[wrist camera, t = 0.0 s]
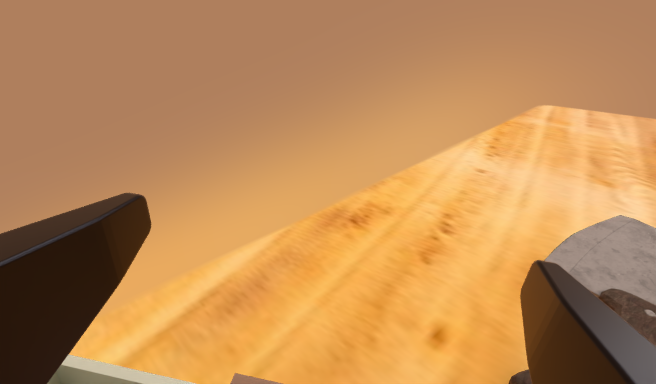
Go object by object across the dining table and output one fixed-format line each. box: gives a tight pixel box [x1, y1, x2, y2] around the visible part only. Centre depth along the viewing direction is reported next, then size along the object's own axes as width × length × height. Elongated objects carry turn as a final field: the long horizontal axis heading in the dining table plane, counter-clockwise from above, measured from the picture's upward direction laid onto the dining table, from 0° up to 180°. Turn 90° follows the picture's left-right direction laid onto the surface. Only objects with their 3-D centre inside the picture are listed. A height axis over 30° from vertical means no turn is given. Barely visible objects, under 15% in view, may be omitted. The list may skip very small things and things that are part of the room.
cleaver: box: [509, 215, 656, 384], centre depth 31 cm, size 29×10×2 cm, turn 130°
